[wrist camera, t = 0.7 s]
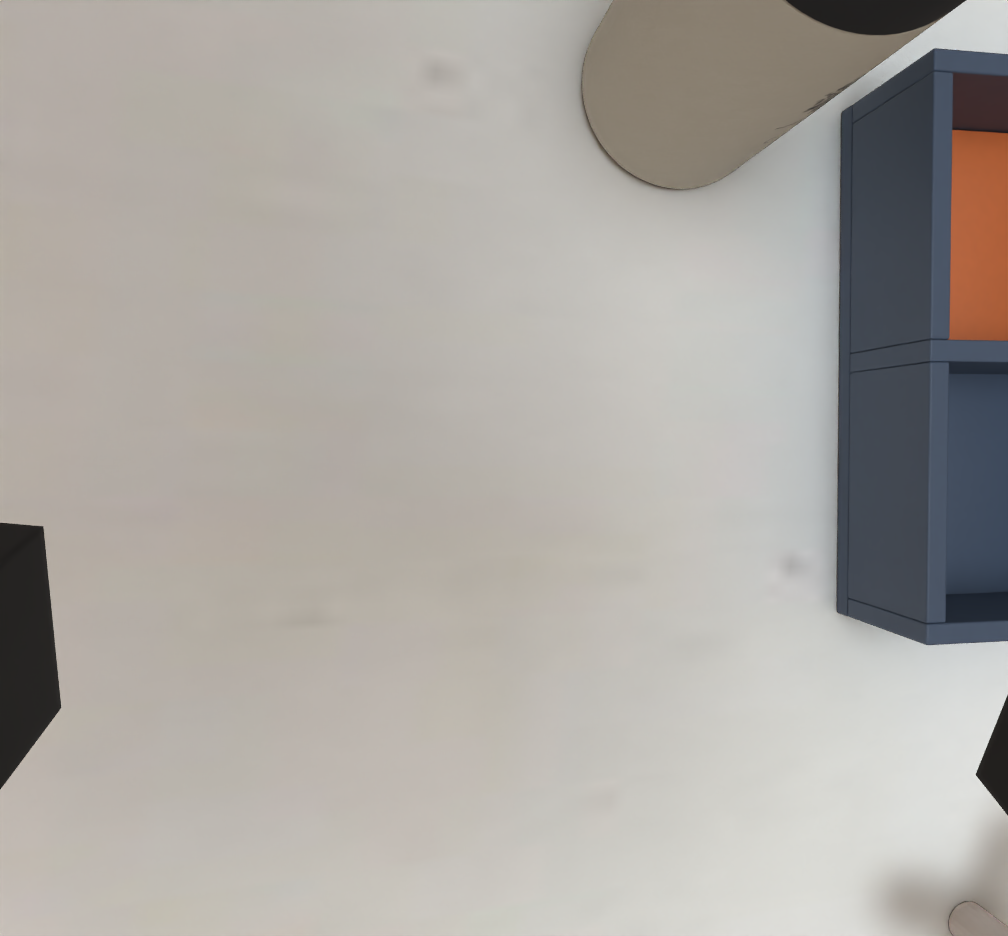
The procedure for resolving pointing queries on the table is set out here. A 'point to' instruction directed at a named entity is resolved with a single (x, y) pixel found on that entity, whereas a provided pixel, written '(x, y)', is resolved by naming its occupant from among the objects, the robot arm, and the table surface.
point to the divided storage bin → (926, 352)
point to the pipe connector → (975, 921)
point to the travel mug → (729, 75)
